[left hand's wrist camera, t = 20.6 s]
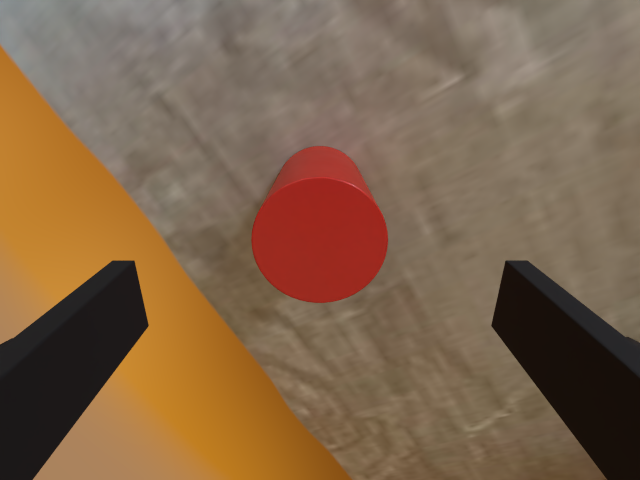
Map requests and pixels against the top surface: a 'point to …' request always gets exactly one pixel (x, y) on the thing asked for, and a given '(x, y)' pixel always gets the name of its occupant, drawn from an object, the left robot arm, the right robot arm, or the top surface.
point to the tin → (319, 228)
